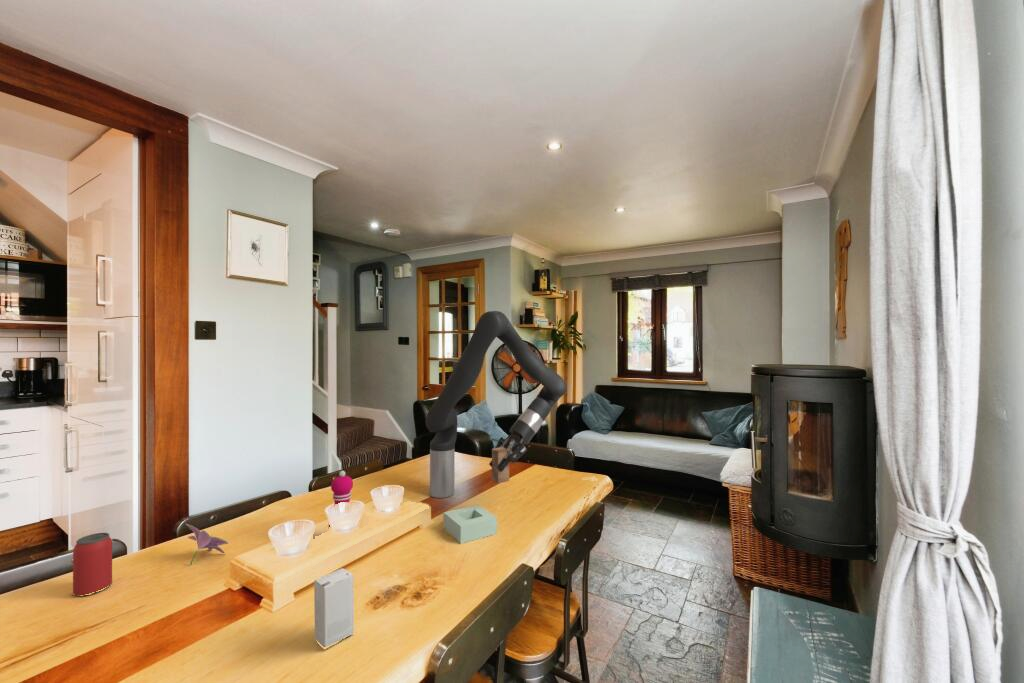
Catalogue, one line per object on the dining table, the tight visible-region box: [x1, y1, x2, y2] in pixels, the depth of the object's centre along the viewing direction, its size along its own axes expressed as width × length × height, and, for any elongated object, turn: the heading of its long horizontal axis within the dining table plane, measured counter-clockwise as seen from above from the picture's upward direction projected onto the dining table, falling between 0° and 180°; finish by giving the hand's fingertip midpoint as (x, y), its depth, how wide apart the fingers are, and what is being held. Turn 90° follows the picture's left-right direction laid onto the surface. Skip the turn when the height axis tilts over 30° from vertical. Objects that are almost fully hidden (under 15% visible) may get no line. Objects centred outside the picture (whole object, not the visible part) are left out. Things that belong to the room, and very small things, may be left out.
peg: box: [491, 447, 510, 484], centre depth 138 cm, size 4×4×10 cm
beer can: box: [72, 532, 113, 596], centre depth 100 cm, size 7×7×12 cm
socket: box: [443, 504, 498, 544], centre depth 131 cm, size 12×12×5 cm
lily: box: [185, 523, 229, 566], centre depth 114 cm, size 12×12×10 cm
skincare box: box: [313, 568, 355, 647], centre depth 83 cm, size 6×4×12 cm
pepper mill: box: [328, 470, 354, 528], centre depth 126 cm, size 7×7×20 cm
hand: (495, 468), depth 136 cm, fingers closed on peg, 4 cm apart
